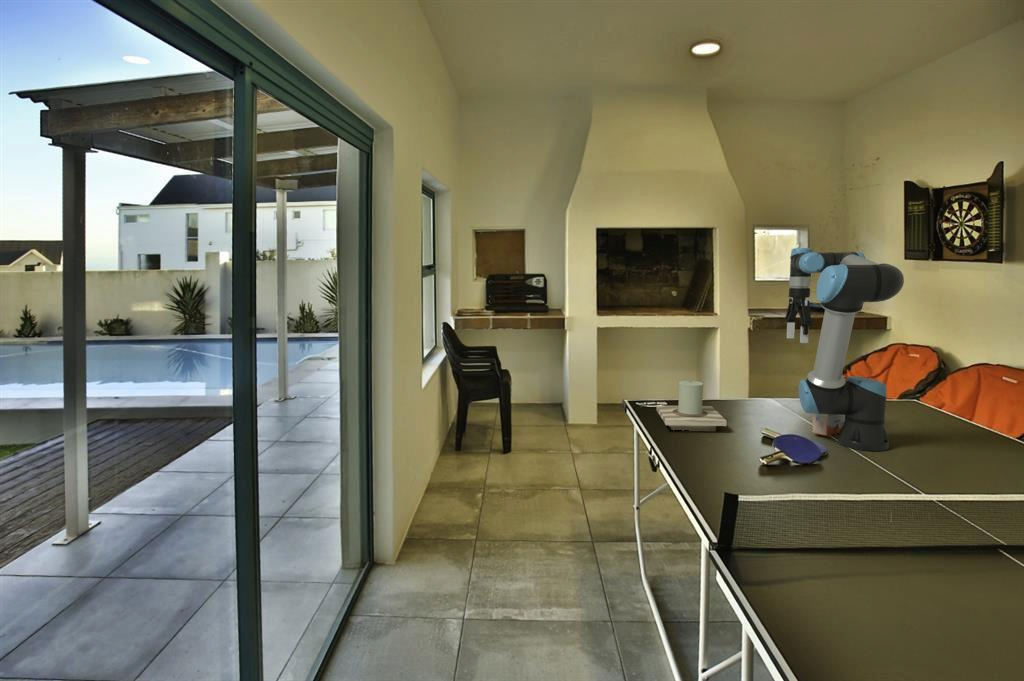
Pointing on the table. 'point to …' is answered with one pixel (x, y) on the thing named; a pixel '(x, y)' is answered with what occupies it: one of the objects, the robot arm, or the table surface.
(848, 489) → the table surface
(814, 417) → the cracker box
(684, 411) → the can
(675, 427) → the stand
